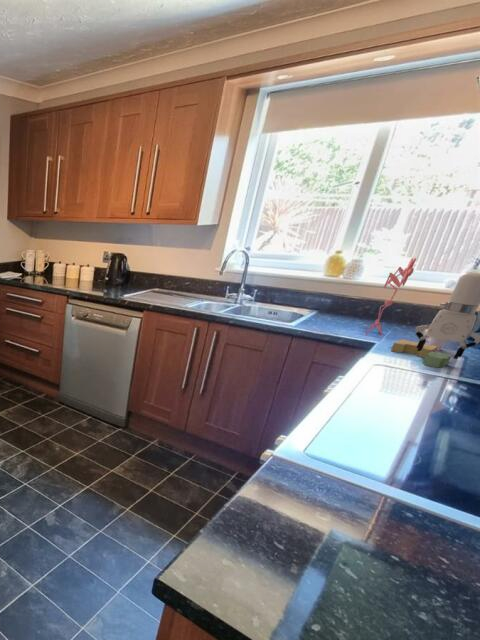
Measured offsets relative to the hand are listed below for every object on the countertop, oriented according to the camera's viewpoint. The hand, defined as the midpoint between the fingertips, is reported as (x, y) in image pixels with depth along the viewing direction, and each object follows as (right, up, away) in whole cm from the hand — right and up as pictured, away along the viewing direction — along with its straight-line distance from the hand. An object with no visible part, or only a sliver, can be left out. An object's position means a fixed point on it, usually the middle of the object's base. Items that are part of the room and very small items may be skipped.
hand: (436, 354), depth 156 cm
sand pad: (+6, +2, +15) cm, 16 cm away
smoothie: (+19, +2, +19) cm, 27 cm away
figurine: (+22, +12, +42) cm, 49 cm away
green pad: (-1, -4, 0) cm, 4 cm away
